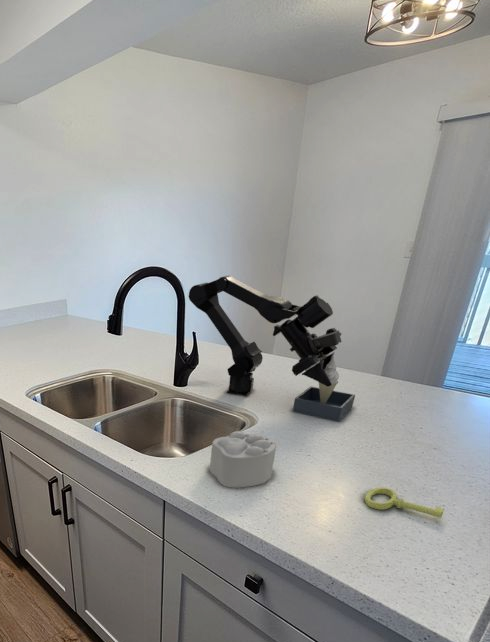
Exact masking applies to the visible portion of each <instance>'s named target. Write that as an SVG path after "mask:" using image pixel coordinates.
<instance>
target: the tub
mask: <svg viewBox="0 0 490 642" xmlns="http://www.w3.org/2000/svg"><path fill="white" fill-rule="evenodd" d="M355 397H356V394H354V393H348V392H344V391H337V390H333V391H332V393H331V395H330V396H329V398H328V400H327V402H326V403H325V404H324V403H320V391H319V387H316V386H312V385H311V386H308V388H307V389H305V390H303V391H302V392H301V393H299V395H297V396H296V397H295V398H294V401H293V402H294V403H293V408H292V412H295V413H299V414H303V415H308V416H312V417H317V418H321V419H325V420H329V421H334V422H340V421H341V420H342V419H343V418H344V417H345V416H346V415H347V414H348V413H349V412H350V411H351V409H352V408H353V407H354V402H355Z"/></svg>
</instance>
